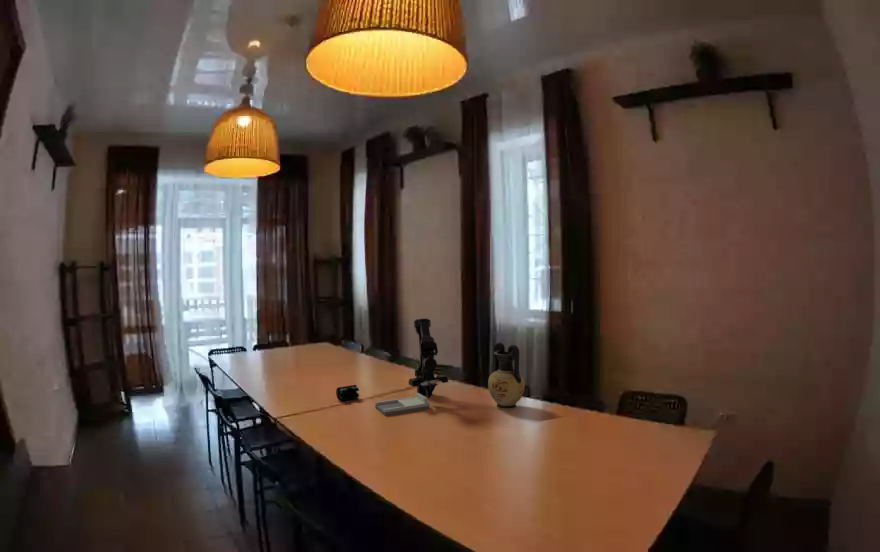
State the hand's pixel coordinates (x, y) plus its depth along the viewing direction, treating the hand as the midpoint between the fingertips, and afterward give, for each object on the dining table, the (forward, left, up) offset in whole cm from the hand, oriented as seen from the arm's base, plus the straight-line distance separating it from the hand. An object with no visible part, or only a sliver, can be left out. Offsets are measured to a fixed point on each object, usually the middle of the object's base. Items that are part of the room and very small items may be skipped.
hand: (428, 398), depth 246 cm
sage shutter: (+9, 0, -1) cm, 9 cm away
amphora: (-30, +22, -3) cm, 37 cm away
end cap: (+33, -28, -3) cm, 43 cm away
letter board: (+14, 0, -3) cm, 14 cm away
